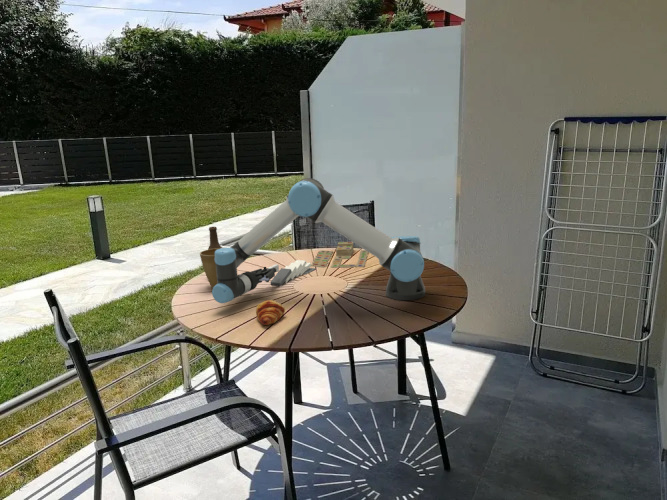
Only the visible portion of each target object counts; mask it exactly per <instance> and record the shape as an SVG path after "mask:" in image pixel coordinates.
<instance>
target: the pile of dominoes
mask: <svg viewBox="0 0 667 500" xmlns="http://www.w3.org/2000/svg"><path fill="white" fill-rule="evenodd" d="M352 253H353V254H354V242H352V241H338V242H337V246H336V249H335V257H334V258H333V260H332V264H331V265H330V268H331V269H339V268H341V269H342V268H343V269H345V268H346V269H347V268H349V269H350V268H353V267H355V268H357V267H363V268H365V267H364V266H366V263H367V260H366V259H368V256H367V254H369V252H367V251H366V250H364V249H363V250H360V251H359V256H358V260H357V262H356V264H355V263H351V264H341V263H342V260H350V259H351V257H352V256H353V254H352ZM332 254H333V255H334V251H333V250H319V251H317V253H316V255H315V257H314V259H313V260H312V263H311V267H313V268H314V267H315V268H326V267H328V265H329V263H330V260H331V258H332V256H333V255H332ZM351 255H352V256H351ZM328 261H329V262H328ZM365 262H366V263H365Z"/></svg>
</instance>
